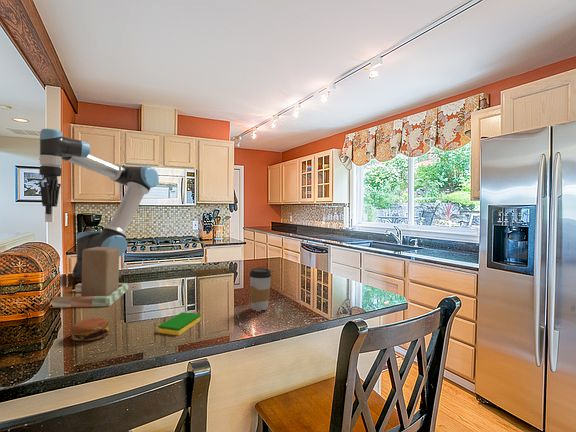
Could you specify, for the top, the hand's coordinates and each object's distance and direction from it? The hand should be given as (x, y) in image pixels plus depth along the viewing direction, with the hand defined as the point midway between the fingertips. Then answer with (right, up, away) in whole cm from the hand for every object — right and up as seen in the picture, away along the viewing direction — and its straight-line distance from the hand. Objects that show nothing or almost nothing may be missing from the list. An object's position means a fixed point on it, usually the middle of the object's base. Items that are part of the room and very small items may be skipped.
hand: (49, 221), depth 138 cm
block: (+26, -31, -7) cm, 41 cm away
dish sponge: (+67, -33, -34) cm, 83 cm away
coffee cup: (+91, -33, -14) cm, 98 cm away
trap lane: (+23, -31, -8) cm, 39 cm away
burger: (+45, -33, -44) cm, 71 cm away
